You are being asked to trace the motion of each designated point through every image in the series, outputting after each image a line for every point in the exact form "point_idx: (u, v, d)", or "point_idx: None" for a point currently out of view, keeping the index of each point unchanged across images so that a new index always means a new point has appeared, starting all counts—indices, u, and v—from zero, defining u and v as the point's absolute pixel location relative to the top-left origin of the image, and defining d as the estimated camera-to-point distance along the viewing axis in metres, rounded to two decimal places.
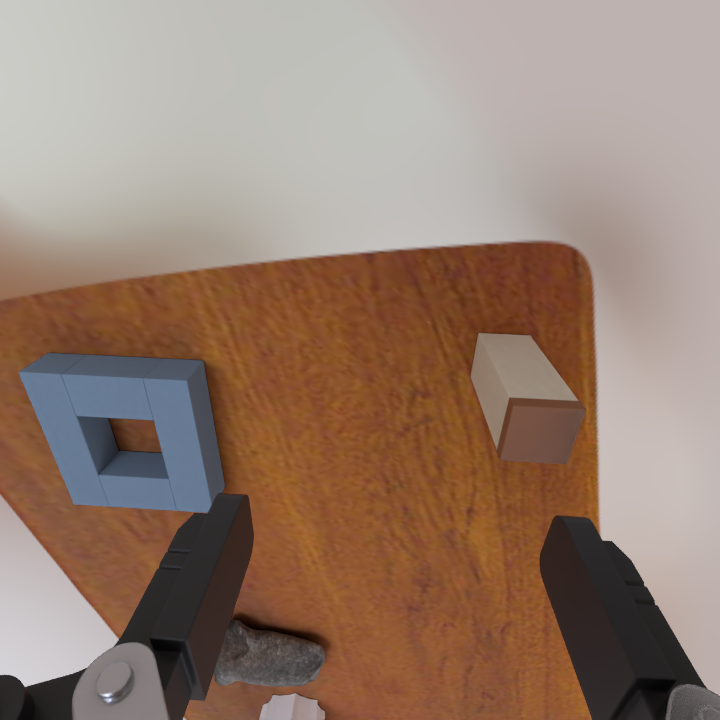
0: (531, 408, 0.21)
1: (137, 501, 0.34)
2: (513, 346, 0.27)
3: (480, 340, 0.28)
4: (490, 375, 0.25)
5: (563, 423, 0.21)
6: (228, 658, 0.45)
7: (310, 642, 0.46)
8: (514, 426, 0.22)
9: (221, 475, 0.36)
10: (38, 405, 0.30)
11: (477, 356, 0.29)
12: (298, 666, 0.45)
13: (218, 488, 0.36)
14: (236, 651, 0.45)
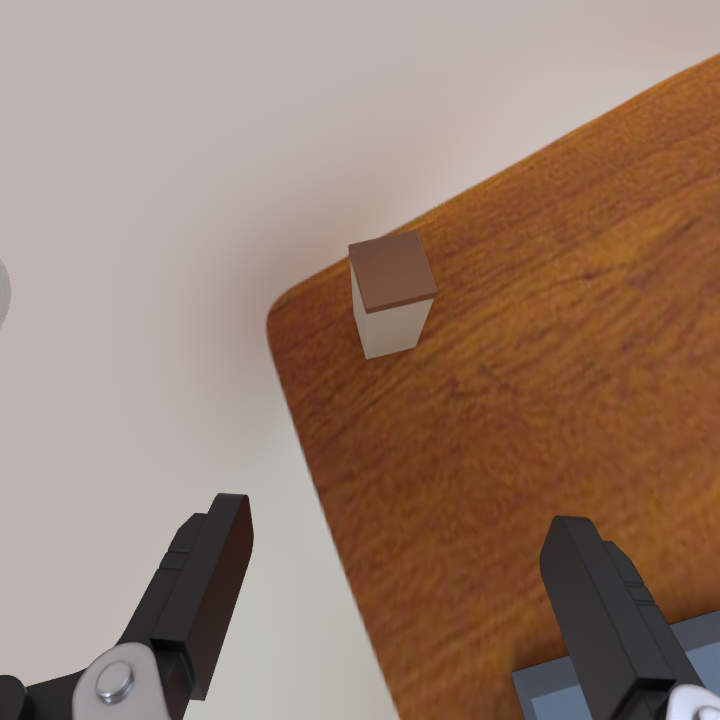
0: (363, 291, 0.20)
1: None
2: (359, 324, 0.27)
3: (368, 355, 0.28)
4: (380, 335, 0.25)
5: (370, 256, 0.21)
6: None
7: None
8: (390, 296, 0.20)
9: (697, 619, 0.24)
10: None
11: (386, 351, 0.28)
12: None
13: None
14: None
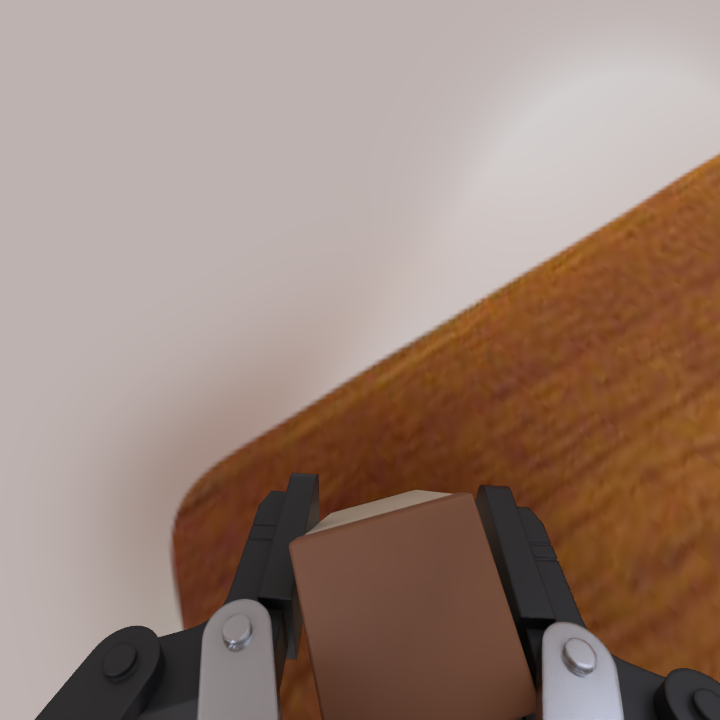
0: (327, 710, 0.07)
1: None
2: None
3: None
4: None
5: (347, 583, 0.08)
6: None
7: None
8: None
9: None
10: None
11: None
12: None
13: None
14: None
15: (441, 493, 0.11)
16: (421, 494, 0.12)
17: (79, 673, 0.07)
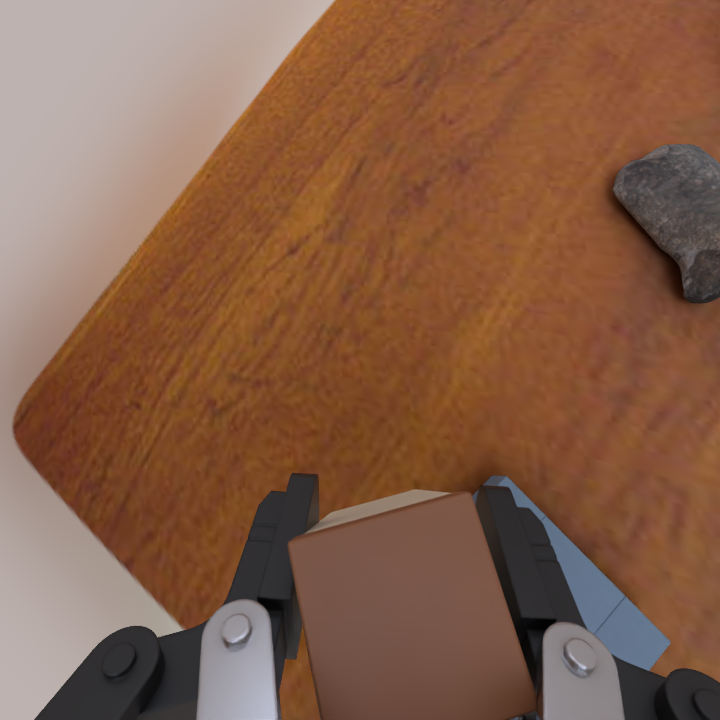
0: (325, 708, 0.07)
1: (580, 569, 0.24)
2: None
3: None
4: None
5: (345, 582, 0.08)
6: None
7: (620, 201, 0.32)
8: None
9: (475, 493, 0.27)
10: None
11: None
12: (659, 183, 0.30)
13: None
14: (718, 261, 0.28)
15: (440, 492, 0.11)
16: (420, 493, 0.12)
17: (79, 673, 0.07)
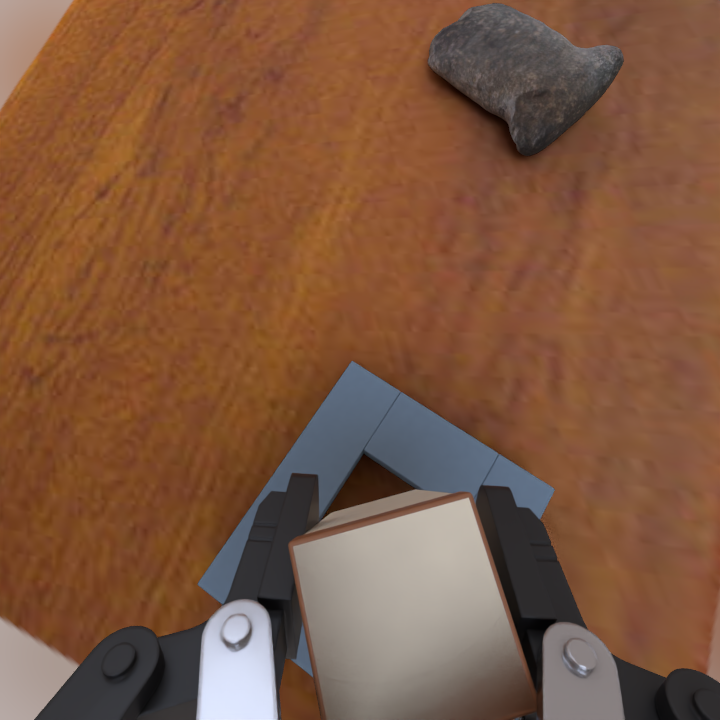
0: (326, 709, 0.07)
1: (446, 438, 0.21)
2: None
3: None
4: None
5: (346, 583, 0.08)
6: (556, 96, 0.26)
7: (437, 73, 0.30)
8: None
9: None
10: None
11: None
12: (466, 41, 0.29)
13: None
14: (537, 102, 0.27)
15: (441, 492, 0.11)
16: (421, 494, 0.12)
17: (80, 673, 0.07)
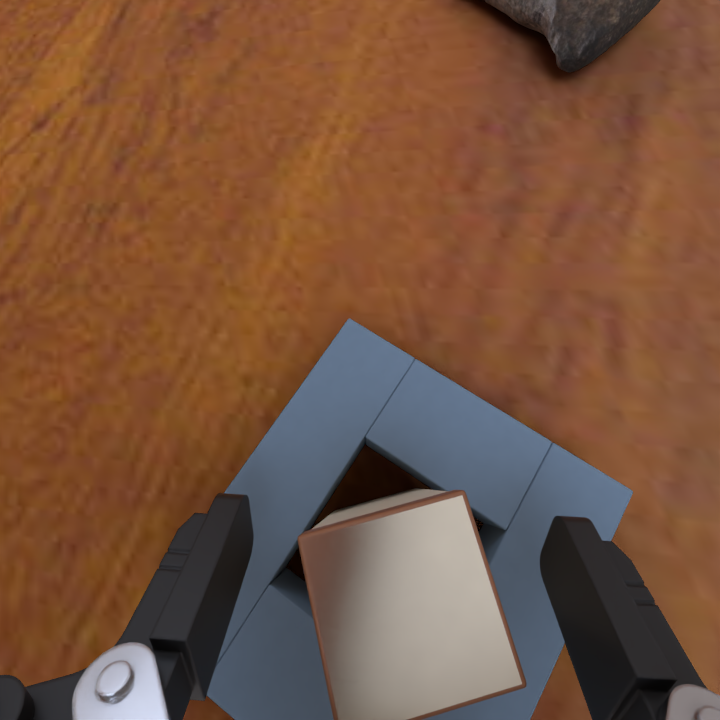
0: (332, 685, 0.08)
1: (479, 421, 0.15)
2: None
3: None
4: None
5: (350, 573, 0.08)
6: None
7: None
8: (402, 703, 0.08)
9: None
10: None
11: None
12: None
13: None
14: None
15: (438, 491, 0.11)
16: (420, 492, 0.13)
17: None
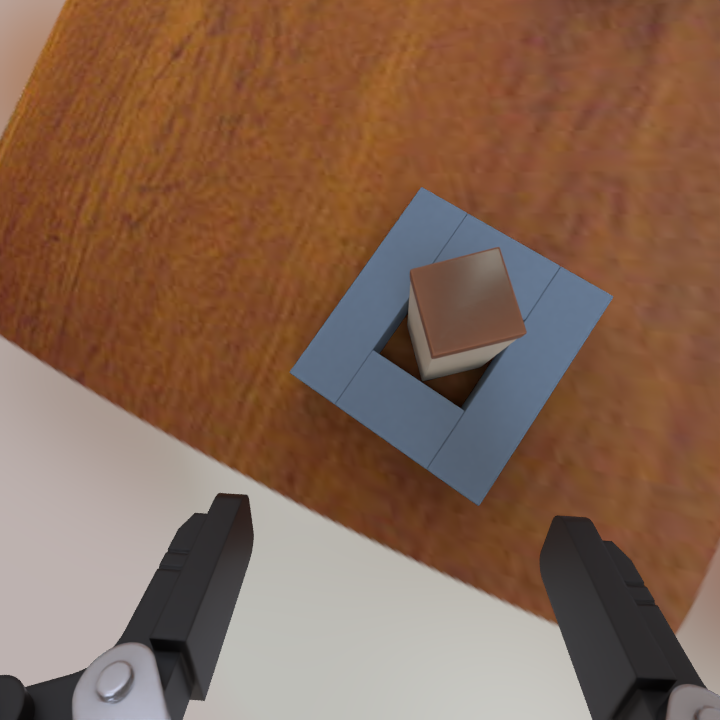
0: (429, 332, 0.16)
1: (510, 253, 0.23)
2: (415, 345, 0.23)
3: (425, 379, 0.24)
4: (443, 367, 0.20)
5: (438, 285, 0.16)
6: None
7: None
8: (464, 339, 0.16)
9: None
10: (500, 453, 0.21)
11: (446, 374, 0.24)
12: None
13: None
14: None
15: None
16: None
17: None
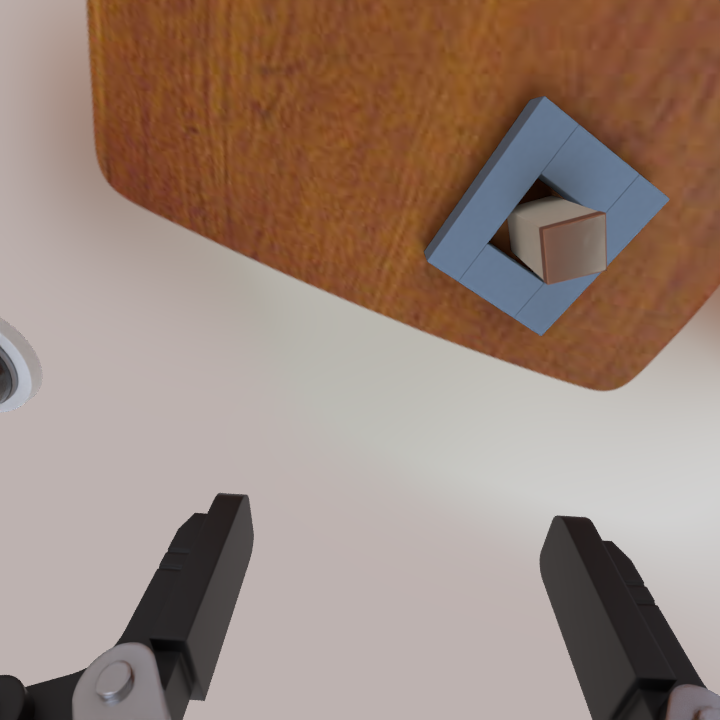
0: (548, 271, 0.27)
1: (604, 163, 0.29)
2: (515, 234, 0.32)
3: None
4: None
5: (559, 240, 0.26)
6: None
7: None
8: (568, 275, 0.27)
9: (515, 122, 0.30)
10: (560, 307, 0.34)
11: None
12: None
13: (524, 114, 0.29)
14: None
15: (584, 207, 0.27)
16: (569, 204, 0.29)
17: None
